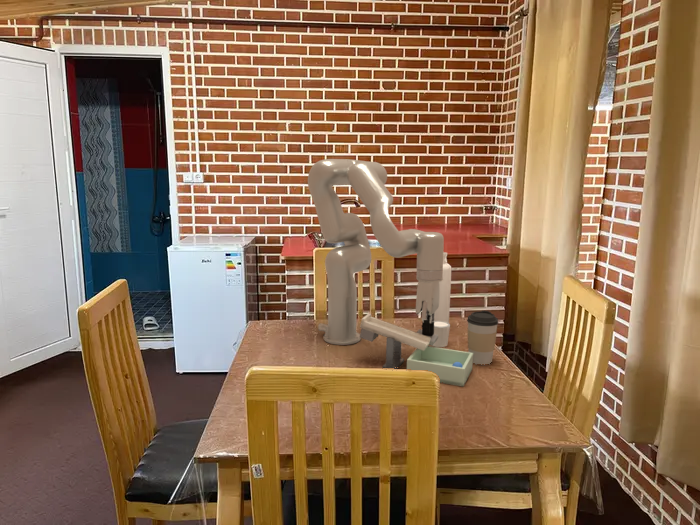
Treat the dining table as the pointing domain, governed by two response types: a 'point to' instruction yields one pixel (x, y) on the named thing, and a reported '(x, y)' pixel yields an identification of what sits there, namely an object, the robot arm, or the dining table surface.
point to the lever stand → (393, 354)
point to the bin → (443, 364)
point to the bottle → (444, 293)
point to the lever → (394, 333)
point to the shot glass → (441, 333)
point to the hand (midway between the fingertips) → (427, 334)
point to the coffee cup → (482, 336)
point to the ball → (457, 364)
